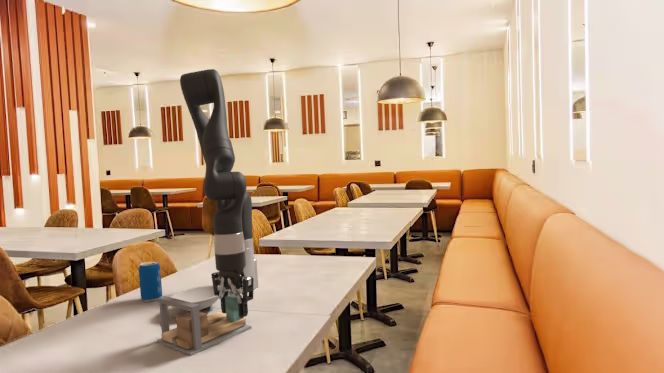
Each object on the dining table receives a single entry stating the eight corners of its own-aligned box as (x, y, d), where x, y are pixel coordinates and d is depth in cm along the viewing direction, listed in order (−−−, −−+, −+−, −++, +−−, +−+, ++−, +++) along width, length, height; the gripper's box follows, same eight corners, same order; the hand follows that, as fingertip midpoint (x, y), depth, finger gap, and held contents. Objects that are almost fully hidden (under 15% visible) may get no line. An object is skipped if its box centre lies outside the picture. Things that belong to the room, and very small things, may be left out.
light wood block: (220, 316, 118) (220, 311, 118) (231, 319, 116) (231, 314, 115) (198, 325, 113) (198, 319, 113) (209, 328, 110) (209, 322, 110)
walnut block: (195, 330, 105) (194, 310, 105) (208, 334, 102) (207, 313, 102) (177, 337, 101) (176, 316, 101) (190, 342, 98) (188, 320, 98)
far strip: (192, 327, 111) (191, 322, 111) (203, 331, 108) (202, 325, 108) (161, 339, 104) (161, 333, 104) (172, 343, 102) (172, 337, 102)
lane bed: (217, 318, 119) (214, 281, 119) (251, 328, 111) (248, 287, 110) (156, 342, 105) (153, 299, 104) (190, 355, 97) (187, 308, 96)
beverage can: (154, 302, 138) (151, 265, 137) (136, 302, 139) (133, 265, 138) (166, 296, 144) (163, 260, 143) (149, 296, 145) (146, 261, 145)
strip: (234, 321, 114) (232, 293, 114) (245, 324, 111) (243, 295, 111) (176, 345, 101) (174, 313, 100) (188, 349, 98) (185, 316, 97)
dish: (197, 323, 117) (195, 305, 116) (157, 318, 123) (156, 301, 122) (237, 302, 133) (235, 286, 132) (200, 299, 139) (199, 283, 138)
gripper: (260, 249, 109) (264, 314, 110) (223, 245, 118) (228, 305, 119) (237, 255, 103) (241, 324, 104) (200, 250, 112) (205, 314, 113)
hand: (234, 314), depth 111 cm, fingers open, 6 cm apart
